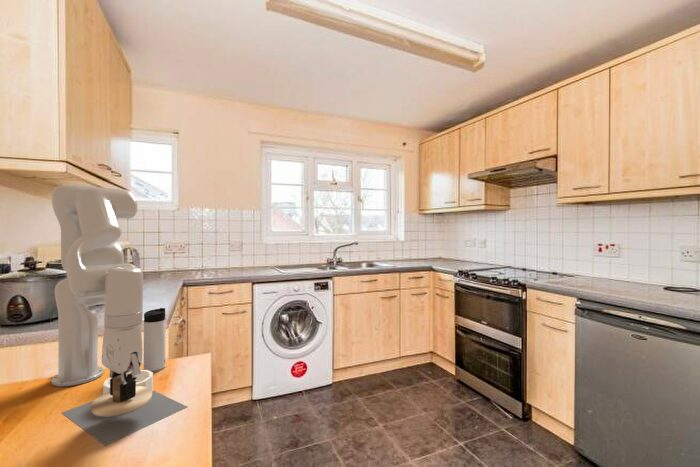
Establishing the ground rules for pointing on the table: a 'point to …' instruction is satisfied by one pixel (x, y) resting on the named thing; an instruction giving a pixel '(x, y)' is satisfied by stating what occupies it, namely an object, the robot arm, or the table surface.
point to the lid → (113, 405)
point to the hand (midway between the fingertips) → (122, 395)
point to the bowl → (142, 380)
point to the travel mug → (154, 340)
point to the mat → (123, 418)
